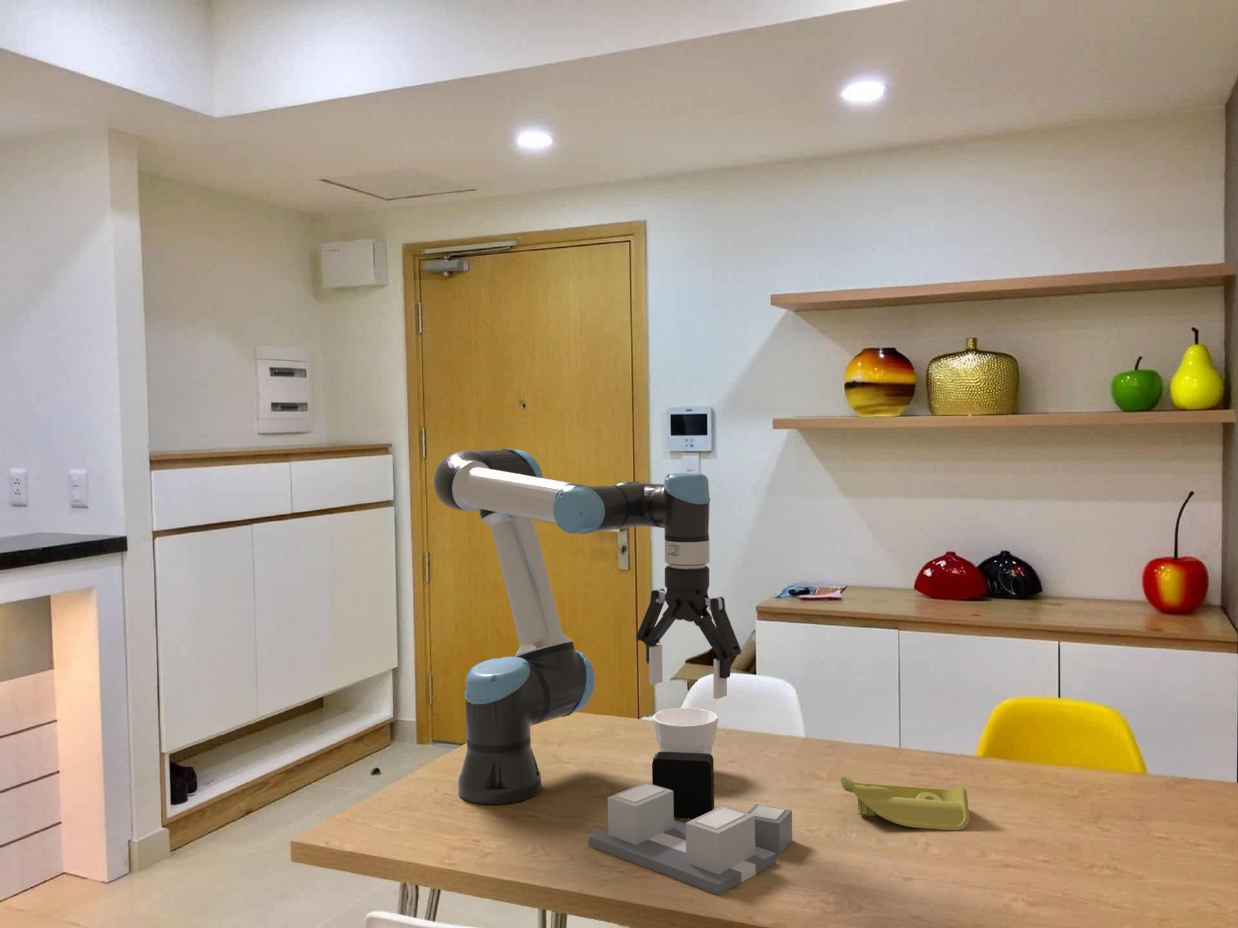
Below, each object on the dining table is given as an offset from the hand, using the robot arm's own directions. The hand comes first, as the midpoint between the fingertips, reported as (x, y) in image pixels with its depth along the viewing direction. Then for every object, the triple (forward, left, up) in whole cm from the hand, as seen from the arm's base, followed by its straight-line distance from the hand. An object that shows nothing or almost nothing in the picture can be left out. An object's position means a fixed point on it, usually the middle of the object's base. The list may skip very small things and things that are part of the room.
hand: (687, 689), depth 171 cm
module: (+17, -1, -22) cm, 27 cm away
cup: (-14, +16, -22) cm, 30 cm away
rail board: (+9, -13, -22) cm, 27 cm away
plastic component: (+27, +23, -22) cm, 42 cm away
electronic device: (-1, 0, -22) cm, 22 cm away
